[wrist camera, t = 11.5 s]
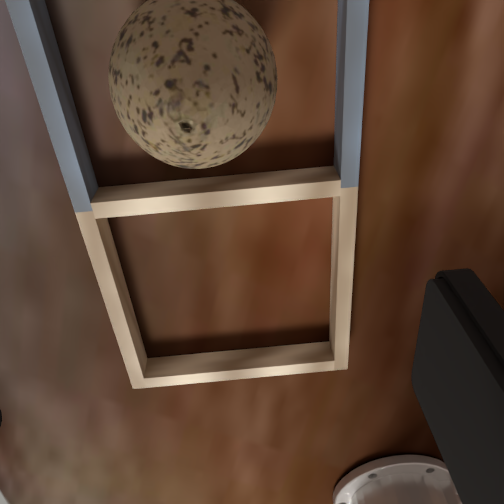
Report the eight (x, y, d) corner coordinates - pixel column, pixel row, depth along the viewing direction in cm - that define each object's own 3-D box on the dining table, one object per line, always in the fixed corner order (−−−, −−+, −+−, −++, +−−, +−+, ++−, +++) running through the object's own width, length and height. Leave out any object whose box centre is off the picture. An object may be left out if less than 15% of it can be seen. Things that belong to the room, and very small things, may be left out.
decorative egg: (193, 153, 27) (180, 249, 18) (98, 48, 23) (29, 108, 15) (295, 71, 24) (332, 139, 16) (206, -57, 21) (195, -54, 13)
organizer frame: (365, -159, 19) (378, -168, 18) (341, 349, 36) (347, 368, 35) (-16, -124, 19) (-38, -130, 18) (137, 368, 36) (133, 388, 35)
